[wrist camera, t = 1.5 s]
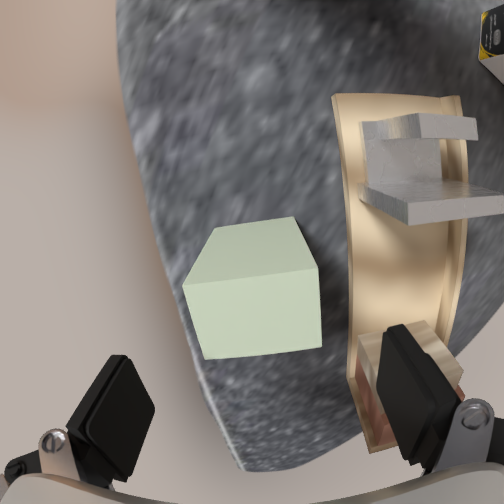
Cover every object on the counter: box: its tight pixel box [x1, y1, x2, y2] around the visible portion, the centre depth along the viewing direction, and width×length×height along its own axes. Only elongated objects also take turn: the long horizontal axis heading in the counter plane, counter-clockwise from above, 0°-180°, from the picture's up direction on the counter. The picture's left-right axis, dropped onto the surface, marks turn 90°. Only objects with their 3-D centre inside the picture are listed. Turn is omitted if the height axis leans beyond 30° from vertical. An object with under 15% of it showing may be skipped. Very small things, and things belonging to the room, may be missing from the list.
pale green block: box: [182, 217, 322, 359], centre depth 16 cm, size 4×6×9 cm
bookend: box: [357, 113, 504, 226], centre depth 13 cm, size 5×7×7 cm
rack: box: [331, 93, 468, 454], centre depth 16 cm, size 24×9×9 cm, turn 9°
